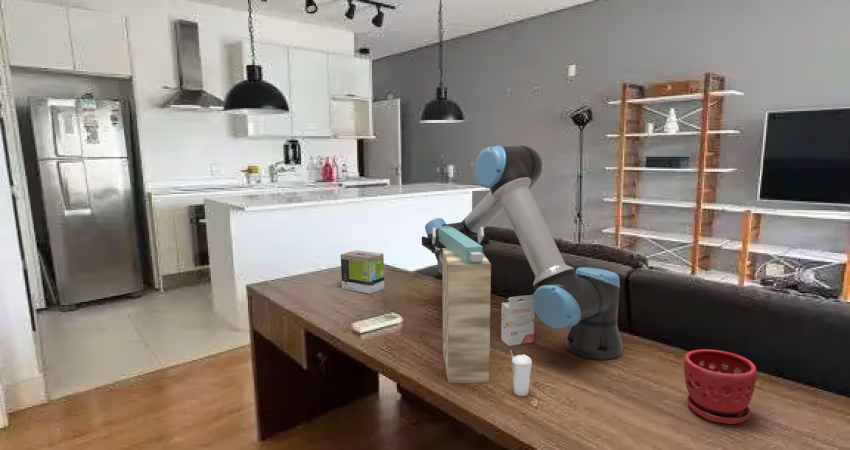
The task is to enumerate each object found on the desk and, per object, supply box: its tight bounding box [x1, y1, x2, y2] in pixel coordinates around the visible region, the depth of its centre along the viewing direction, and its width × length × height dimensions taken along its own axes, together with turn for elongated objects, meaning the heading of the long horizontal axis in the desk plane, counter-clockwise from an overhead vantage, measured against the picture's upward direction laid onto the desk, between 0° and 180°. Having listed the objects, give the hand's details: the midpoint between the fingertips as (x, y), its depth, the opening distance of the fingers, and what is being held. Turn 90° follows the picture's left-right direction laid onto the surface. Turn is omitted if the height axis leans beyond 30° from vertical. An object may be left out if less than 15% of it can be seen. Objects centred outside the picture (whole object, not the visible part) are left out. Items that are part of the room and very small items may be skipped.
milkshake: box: [509, 349, 533, 397], centre depth 111 cm, size 4×5×10 cm
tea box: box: [340, 249, 385, 295], centre depth 192 cm, size 15×10×15 cm, turn 58°
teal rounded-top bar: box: [438, 226, 484, 264], centre depth 125 cm, size 33×4×4 cm, turn 12°
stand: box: [441, 248, 492, 384], centre depth 122 cm, size 18×10×30 cm, turn 3°
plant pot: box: [683, 348, 757, 425], centre depth 102 cm, size 13×13×12 cm
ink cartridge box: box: [500, 294, 535, 347], centre depth 139 cm, size 9×5×15 cm, turn 105°
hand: (458, 231), depth 133 cm, fingers open, 13 cm apart
